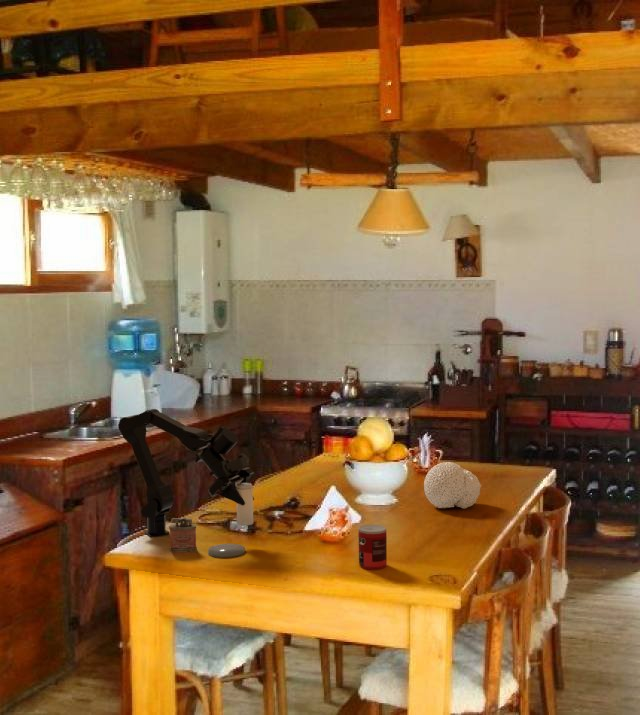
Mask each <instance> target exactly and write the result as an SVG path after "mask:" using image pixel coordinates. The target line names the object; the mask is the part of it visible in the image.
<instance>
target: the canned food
mask: <svg viewBox="0 0 640 715" xmlns="http://www.w3.org/2000/svg"><path fill="white" fill-rule="evenodd" d="M357 532H358V564H359V567H360V568H362V569H364V570H374V571H376V570H377V571H378V570H383V569H384V568H386V567H387V552H388V551H387V538H388V537H387V527H386V526H384V525H381V524H380V525H379V524H363V525H361V526H359V527H358V531H357Z"/></svg>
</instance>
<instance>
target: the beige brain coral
mask: <svg viewBox="0 0 640 715" xmlns="http://www.w3.org/2000/svg"><path fill="white" fill-rule="evenodd" d="M423 482H424V483H423V486H424V487H423V489H424V490H423V491H424V494H425V496H426V500H427V499H428V502H430V503H431V504H432V505H433V506H435V508H438V509H448V508H454V507H457V508H461V509H467V508H470V507H472V506H474V504H476V501H477V500H478V498H479V497H480V493H481V487H482V484H481V482H480V481H479V479H478V477H477V476H476V475H475V474H473V473H472V471H471V470H470V471H469V470H468V469H465V468H463V467H461V465H459V464H457V463H454V462H450V461H448V462H447V461H444V462H440V463H437V464H436V465H434V466H433V467H431V468H430V470H428V471H427V474H426V476H425V477H424V481H423Z"/></svg>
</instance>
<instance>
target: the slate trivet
mask: <svg viewBox="0 0 640 715" xmlns="http://www.w3.org/2000/svg"><path fill="white" fill-rule="evenodd" d="M207 552H208V553H207V554H208V555H209V556H210V557H214V558H221V559H226V558H236V557H240V556H242V555H244V554H245V553H246V547H245V546H244V545H242V544H237V543H220V544H214V545H212V546H210V547H208V550H207Z"/></svg>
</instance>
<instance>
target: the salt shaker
mask: <svg viewBox="0 0 640 715" xmlns="http://www.w3.org/2000/svg"><path fill="white" fill-rule="evenodd" d="M253 488H254V487H253V484H252V483H251V482H248V483H239V484H237V488H236V490H237V491H238V493H239V494H240V495H241V497H242V498H243V500H244V502H245V504H244V505H243V506H242V505H240V504H238V503H236V525H238V526H252V525H253V524H254V500H253V497H254V490H253Z"/></svg>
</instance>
